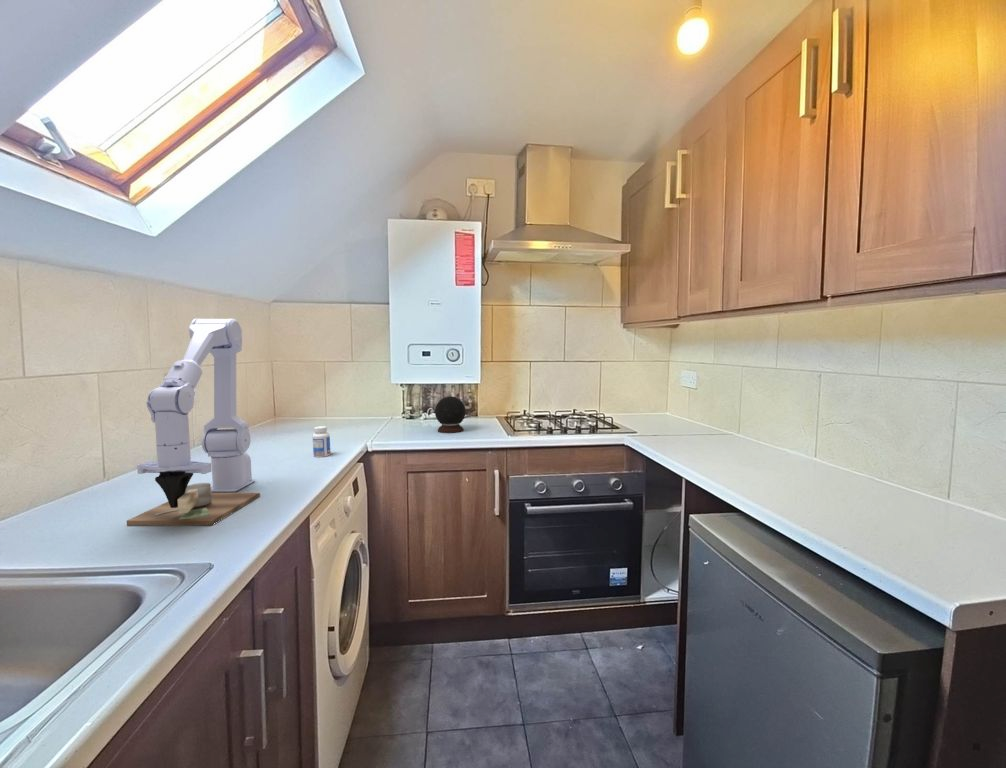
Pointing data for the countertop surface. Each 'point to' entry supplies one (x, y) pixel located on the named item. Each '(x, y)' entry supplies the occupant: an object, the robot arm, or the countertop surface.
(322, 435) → the pill bottle
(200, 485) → the beige elongated block piece
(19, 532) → the countertop surface
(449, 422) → the black ball on stand
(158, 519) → the base
